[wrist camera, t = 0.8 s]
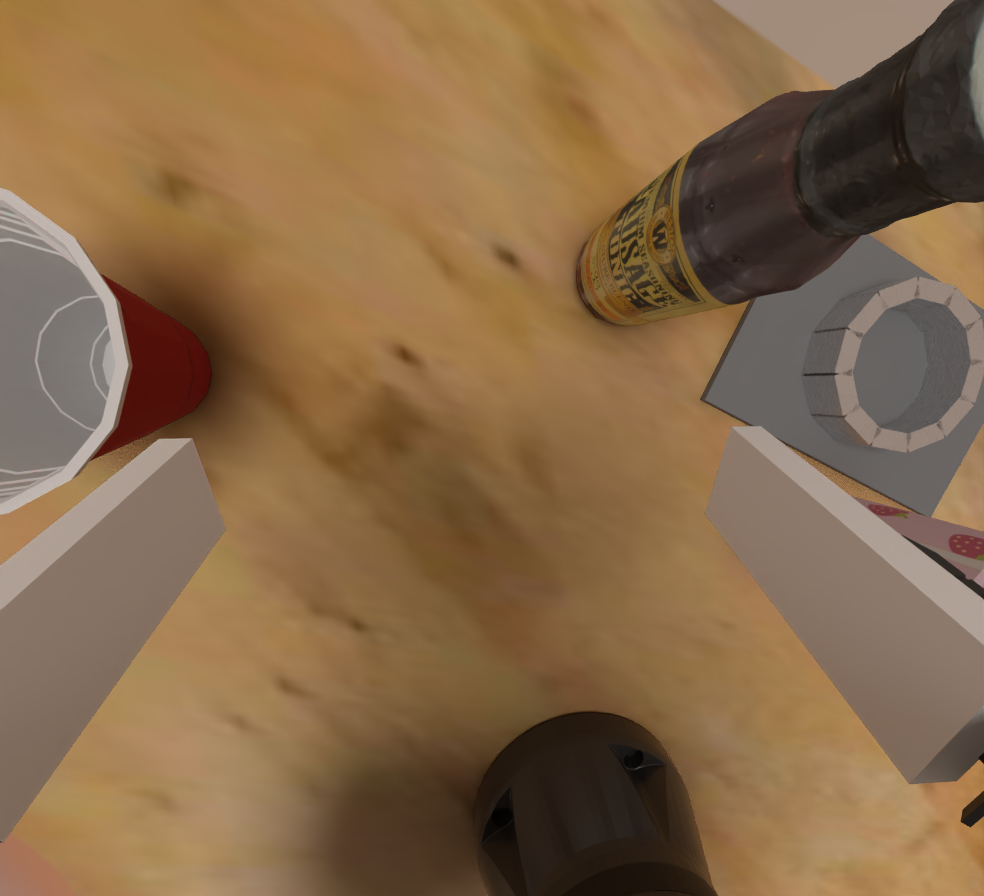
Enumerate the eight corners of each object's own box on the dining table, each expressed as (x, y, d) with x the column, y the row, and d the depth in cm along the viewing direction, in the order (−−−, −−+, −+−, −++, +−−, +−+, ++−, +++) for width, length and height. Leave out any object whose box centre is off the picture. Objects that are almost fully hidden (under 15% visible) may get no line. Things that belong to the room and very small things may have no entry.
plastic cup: (293, 324, 26) (171, 272, 14) (216, 491, 26) (38, 577, 15) (96, 225, 24) (-239, 68, 12) (19, 408, 24) (-368, 430, 13)
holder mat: (1020, 340, 32) (1029, 339, 31) (922, 515, 33) (930, 517, 32) (801, 198, 28) (808, 195, 28) (700, 399, 29) (704, 399, 29)
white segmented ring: (952, 414, 31) (996, 417, 29) (821, 466, 31) (855, 474, 28) (927, 266, 29) (972, 256, 27) (788, 318, 29) (821, 312, 26)
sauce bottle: (562, 234, 27) (906, -175, 7) (660, 215, 27) (1222, -208, 8) (581, 343, 28) (926, 246, 8) (674, 323, 28) (1203, 189, 9)
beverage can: (763, 567, 32) (1049, 726, 17) (705, 525, 31) (956, 655, 16) (811, 502, 31) (1144, 606, 17) (755, 457, 30) (1056, 526, 16)
